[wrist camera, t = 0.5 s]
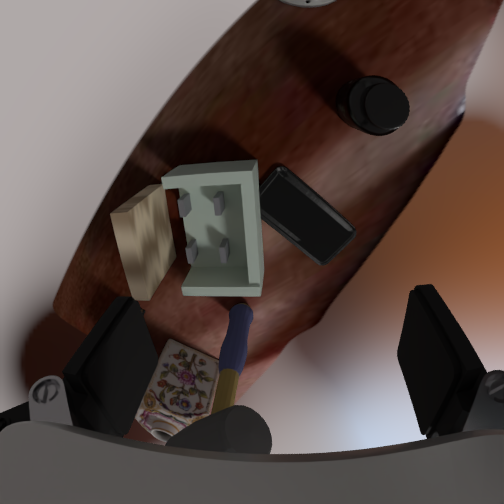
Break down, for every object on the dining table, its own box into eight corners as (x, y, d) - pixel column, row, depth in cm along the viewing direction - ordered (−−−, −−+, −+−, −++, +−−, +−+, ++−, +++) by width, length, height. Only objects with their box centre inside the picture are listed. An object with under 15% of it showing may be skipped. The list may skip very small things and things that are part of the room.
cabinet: (179, 165, 42) (161, 177, 36) (257, 159, 41) (252, 170, 35) (195, 270, 50) (183, 295, 44) (264, 270, 49) (260, 296, 43)
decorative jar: (223, 360, 59) (205, 437, 43) (203, 389, 64) (184, 457, 48) (167, 335, 58) (135, 408, 42) (153, 367, 63) (125, 433, 47)
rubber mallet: (236, 339, 56) (204, 493, 29) (203, 316, 54) (151, 471, 28) (284, 300, 51) (276, 475, 24) (249, 272, 49) (213, 450, 23)
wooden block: (143, 185, 44) (103, 214, 34) (163, 183, 44) (127, 212, 33) (157, 257, 50) (126, 299, 39) (176, 256, 49) (149, 300, 39)
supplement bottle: (372, 73, 34) (404, 65, 23) (391, 120, 36) (427, 129, 26) (326, 89, 36) (342, 84, 25) (346, 136, 38) (369, 149, 28)
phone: (280, 163, 40) (359, 232, 44) (280, 162, 41) (358, 229, 45) (244, 206, 44) (322, 268, 47) (245, 203, 45) (321, 265, 48)
